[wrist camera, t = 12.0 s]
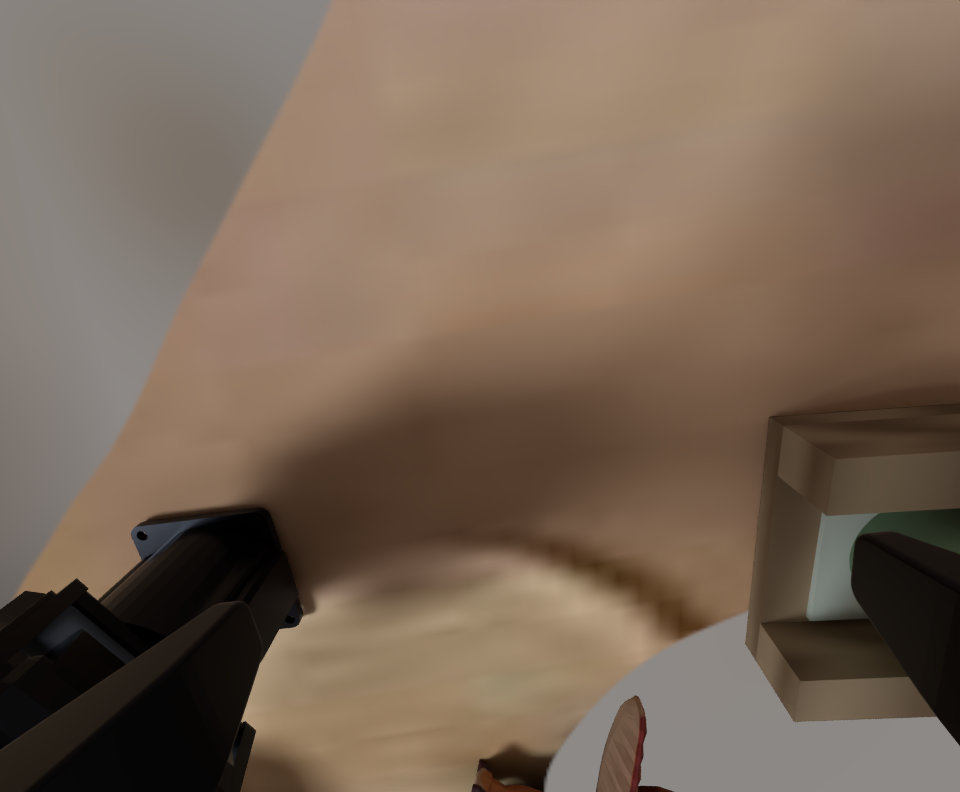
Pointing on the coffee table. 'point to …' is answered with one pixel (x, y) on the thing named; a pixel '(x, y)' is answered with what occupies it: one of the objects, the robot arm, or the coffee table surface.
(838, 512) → the square wooden tray
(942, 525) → the bottle
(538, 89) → the coffee table surface
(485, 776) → the brown red lumpy cluster
